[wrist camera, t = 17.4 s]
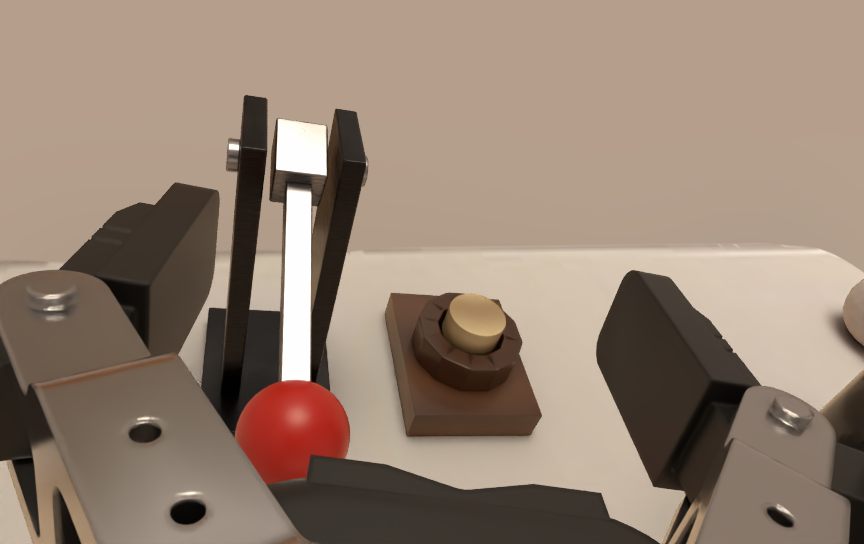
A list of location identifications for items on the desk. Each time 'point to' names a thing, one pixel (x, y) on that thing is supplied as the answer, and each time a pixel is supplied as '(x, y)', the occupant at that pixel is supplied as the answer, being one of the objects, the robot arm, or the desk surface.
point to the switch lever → (294, 324)
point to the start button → (473, 324)
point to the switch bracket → (237, 325)
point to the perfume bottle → (855, 312)
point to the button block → (456, 375)
